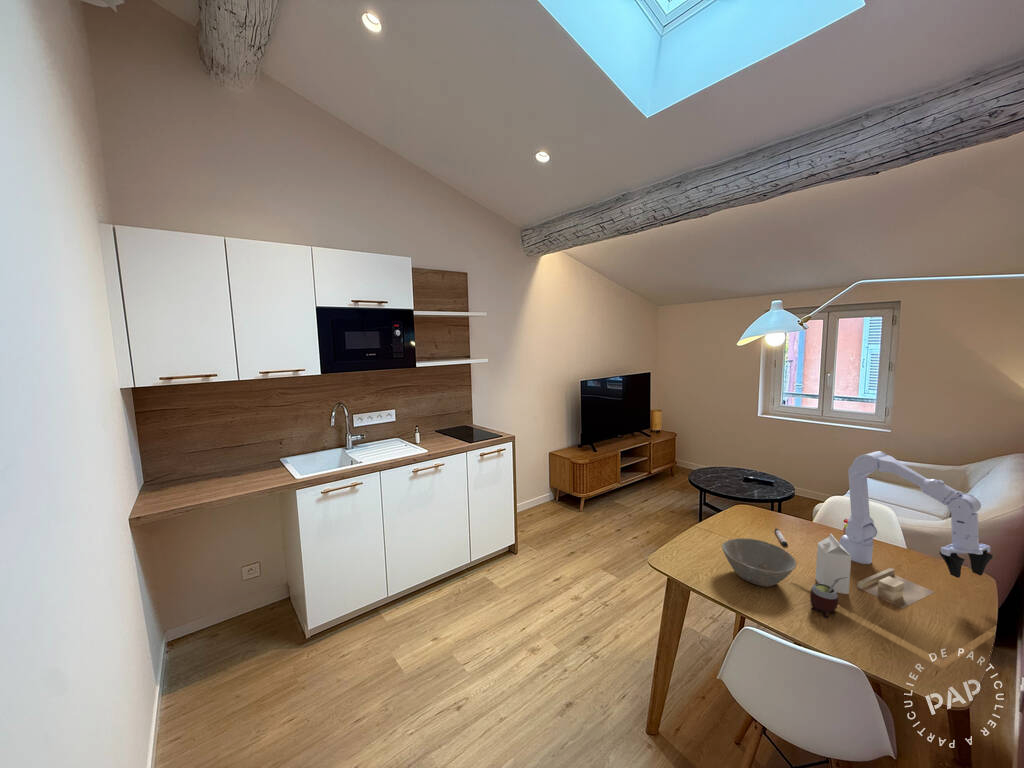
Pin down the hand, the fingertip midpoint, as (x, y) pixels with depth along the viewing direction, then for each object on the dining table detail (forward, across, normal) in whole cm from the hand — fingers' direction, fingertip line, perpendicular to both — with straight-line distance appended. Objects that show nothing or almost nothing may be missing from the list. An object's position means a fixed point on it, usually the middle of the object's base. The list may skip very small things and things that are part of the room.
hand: (966, 575), depth 128 cm
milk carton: (+9, -35, +12) cm, 38 cm away
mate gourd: (+9, -46, +2) cm, 47 cm away
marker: (+6, -26, +48) cm, 55 cm away
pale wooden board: (+9, -16, +8) cm, 20 cm away
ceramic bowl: (+7, -56, +21) cm, 60 cm away
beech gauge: (+8, -20, +5) cm, 23 cm away
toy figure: (+7, +3, +44) cm, 45 cm away
